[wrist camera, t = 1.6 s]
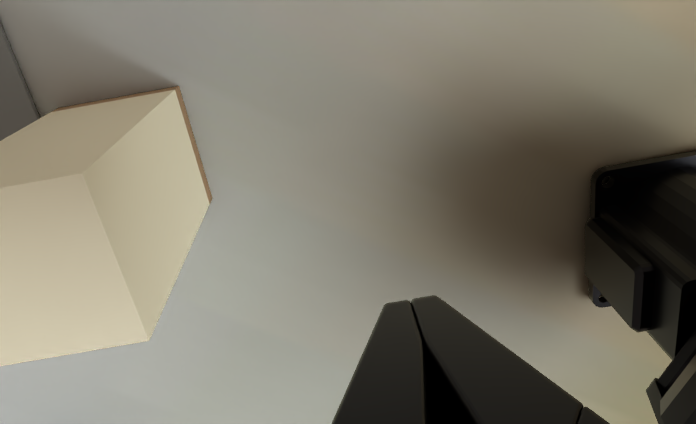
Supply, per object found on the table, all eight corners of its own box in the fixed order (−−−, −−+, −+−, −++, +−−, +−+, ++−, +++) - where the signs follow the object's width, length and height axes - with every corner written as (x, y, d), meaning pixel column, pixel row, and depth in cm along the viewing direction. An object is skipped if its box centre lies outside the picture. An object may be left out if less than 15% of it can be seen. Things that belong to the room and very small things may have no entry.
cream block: (178, 85, 20) (82, 173, 12) (212, 198, 22) (148, 341, 14) (58, 108, 20) (-121, 209, 12) (101, 217, 22) (-27, 370, 14)
